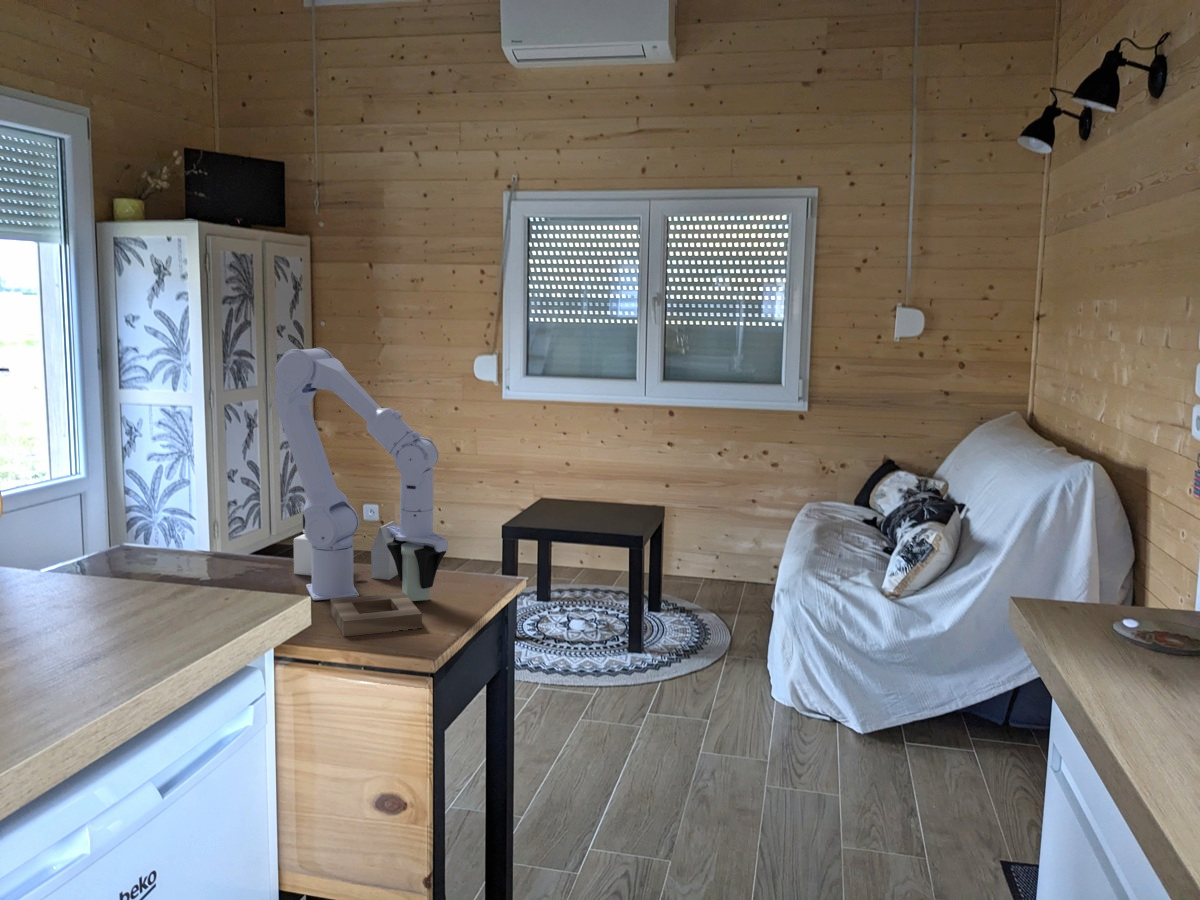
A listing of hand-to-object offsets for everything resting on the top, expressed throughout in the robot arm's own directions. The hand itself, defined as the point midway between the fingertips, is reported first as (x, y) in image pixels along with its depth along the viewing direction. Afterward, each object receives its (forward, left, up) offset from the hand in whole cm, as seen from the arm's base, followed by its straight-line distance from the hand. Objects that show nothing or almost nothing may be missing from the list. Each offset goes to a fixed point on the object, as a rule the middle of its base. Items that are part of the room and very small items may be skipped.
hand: (416, 584), depth 175 cm
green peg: (0, 0, -2) cm, 2 cm away
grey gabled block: (-19, -1, -3) cm, 19 cm away
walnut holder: (+9, -9, -3) cm, 13 cm away
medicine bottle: (-25, -13, -3) cm, 28 cm away
